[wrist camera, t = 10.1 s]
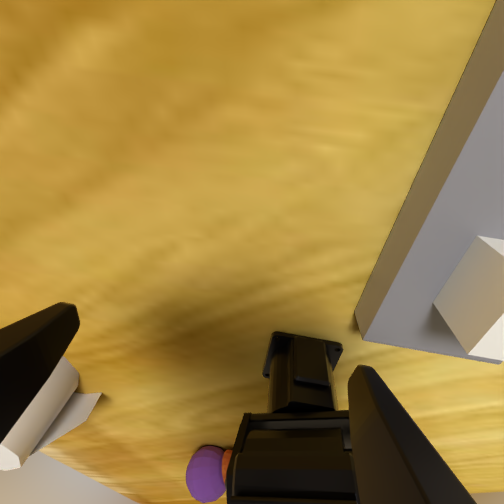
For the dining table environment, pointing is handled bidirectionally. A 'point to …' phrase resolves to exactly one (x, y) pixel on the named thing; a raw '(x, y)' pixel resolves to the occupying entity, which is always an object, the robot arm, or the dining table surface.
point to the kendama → (208, 473)
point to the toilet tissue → (47, 416)
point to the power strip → (451, 228)
